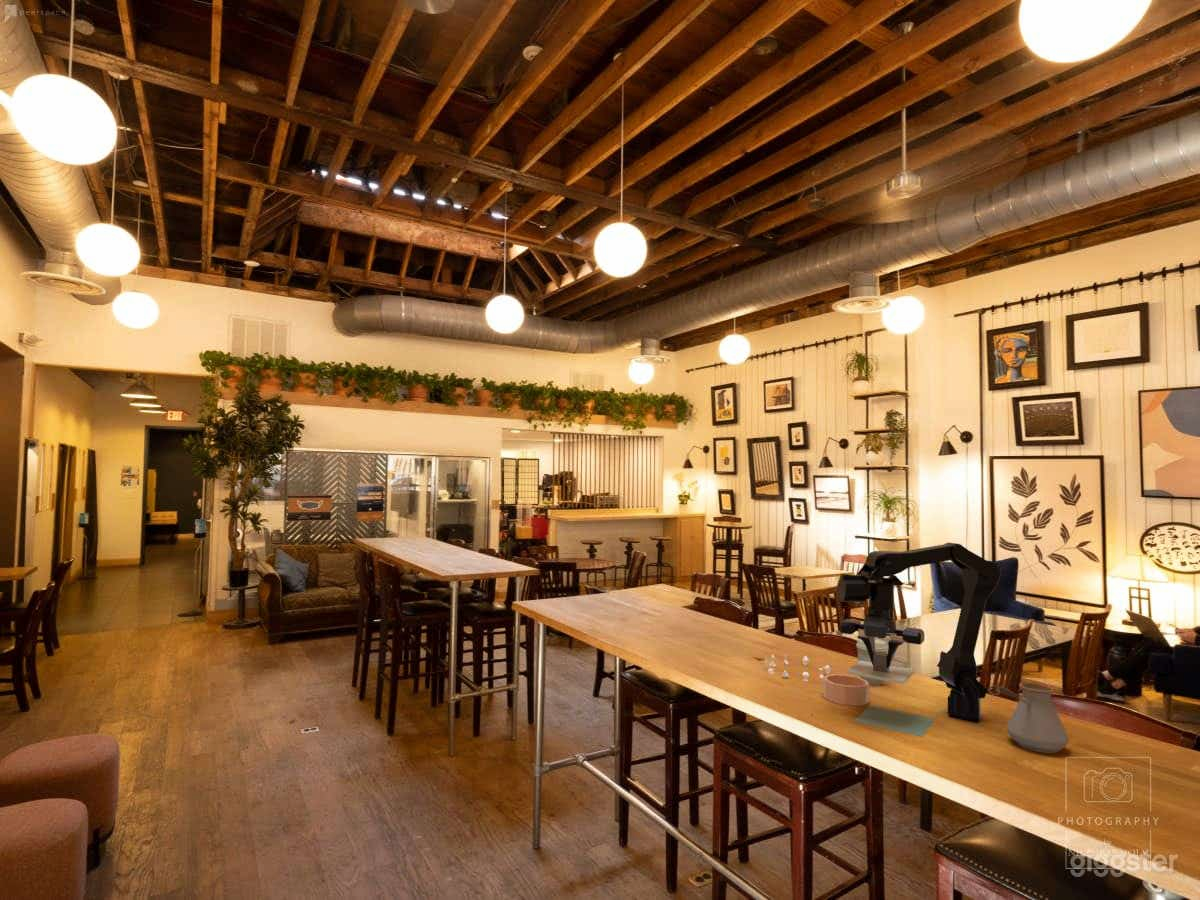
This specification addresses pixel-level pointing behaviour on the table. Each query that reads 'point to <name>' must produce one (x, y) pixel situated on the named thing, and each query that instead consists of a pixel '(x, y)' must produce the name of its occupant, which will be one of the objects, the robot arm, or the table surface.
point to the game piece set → (805, 674)
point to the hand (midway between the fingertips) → (881, 666)
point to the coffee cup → (864, 656)
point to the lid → (881, 670)
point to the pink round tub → (846, 689)
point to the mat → (895, 721)
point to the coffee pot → (1035, 719)
